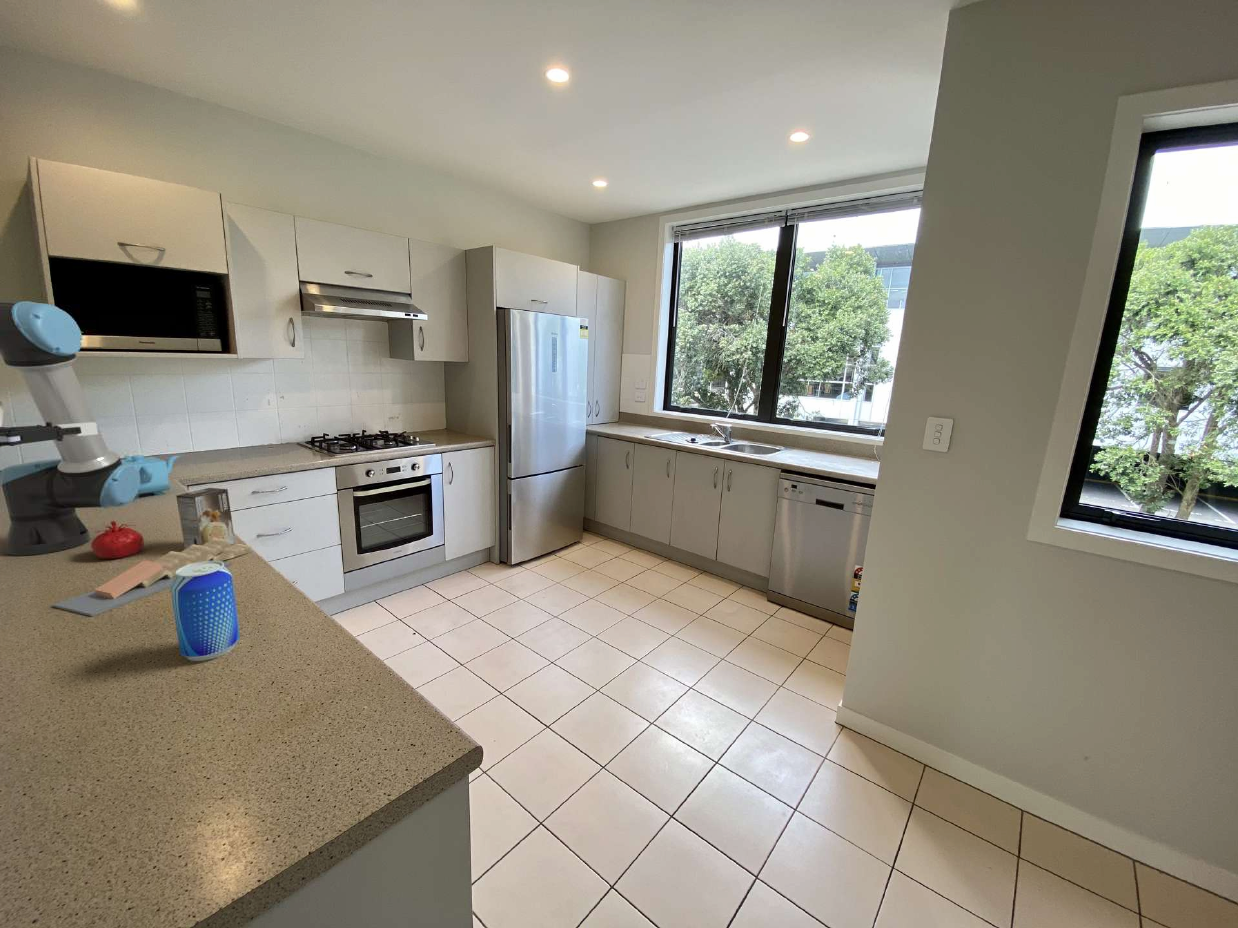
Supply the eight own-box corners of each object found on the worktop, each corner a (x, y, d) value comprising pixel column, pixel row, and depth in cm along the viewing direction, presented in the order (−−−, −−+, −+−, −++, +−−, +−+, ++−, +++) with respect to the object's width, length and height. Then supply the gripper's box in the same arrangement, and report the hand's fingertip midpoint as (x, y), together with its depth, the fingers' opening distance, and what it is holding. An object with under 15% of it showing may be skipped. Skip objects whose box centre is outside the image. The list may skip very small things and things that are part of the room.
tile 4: (189, 565, 121) (227, 540, 129) (175, 563, 122) (213, 537, 130) (193, 570, 121) (230, 545, 130) (178, 568, 123) (216, 542, 131)
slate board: (52, 606, 104) (52, 604, 104) (197, 558, 130) (196, 556, 130) (91, 616, 100) (91, 614, 100) (231, 564, 127) (231, 562, 127)
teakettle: (155, 500, 179) (149, 460, 176) (92, 501, 174) (85, 460, 172) (187, 487, 197) (182, 450, 194) (130, 488, 193) (125, 450, 190)
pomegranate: (113, 565, 125) (106, 530, 123) (82, 560, 127) (75, 525, 125) (156, 550, 135) (150, 517, 132) (127, 545, 136) (121, 513, 134)
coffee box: (217, 541, 142) (210, 486, 139) (236, 543, 141) (229, 488, 138) (183, 552, 133) (175, 494, 130) (203, 555, 132) (195, 497, 129)
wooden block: (212, 557, 126) (251, 546, 135) (198, 554, 127) (237, 543, 137) (213, 563, 126) (252, 551, 135) (198, 560, 127) (238, 549, 137)
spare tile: (110, 593, 106) (159, 563, 114) (94, 589, 107) (144, 560, 116) (114, 598, 107) (163, 568, 115) (98, 595, 108) (147, 565, 116)
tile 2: (142, 582, 111) (186, 553, 120) (126, 579, 113) (171, 551, 121) (145, 587, 112) (189, 558, 120) (130, 584, 113) (174, 556, 122)
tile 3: (166, 573, 116) (207, 546, 124) (151, 570, 117) (193, 544, 126) (170, 579, 117) (210, 551, 125) (155, 575, 118) (196, 549, 126)
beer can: (192, 669, 85) (178, 582, 82) (173, 653, 89) (160, 569, 86) (248, 647, 92) (238, 565, 89) (228, 633, 96) (218, 555, 93)
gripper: (-82, 459, 95) (78, 442, 117) (-41, 465, 92) (117, 446, 114) (-92, 420, 93) (73, 410, 116) (-50, 424, 90) (111, 413, 112)
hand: (94, 428), depth 115 cm, fingers closed
